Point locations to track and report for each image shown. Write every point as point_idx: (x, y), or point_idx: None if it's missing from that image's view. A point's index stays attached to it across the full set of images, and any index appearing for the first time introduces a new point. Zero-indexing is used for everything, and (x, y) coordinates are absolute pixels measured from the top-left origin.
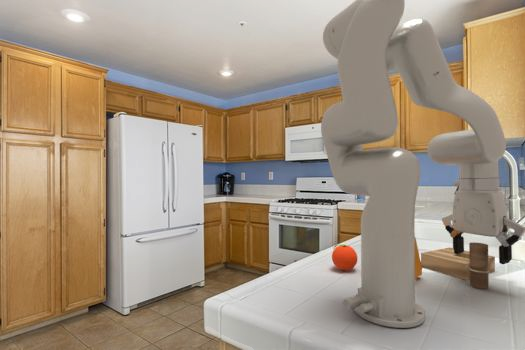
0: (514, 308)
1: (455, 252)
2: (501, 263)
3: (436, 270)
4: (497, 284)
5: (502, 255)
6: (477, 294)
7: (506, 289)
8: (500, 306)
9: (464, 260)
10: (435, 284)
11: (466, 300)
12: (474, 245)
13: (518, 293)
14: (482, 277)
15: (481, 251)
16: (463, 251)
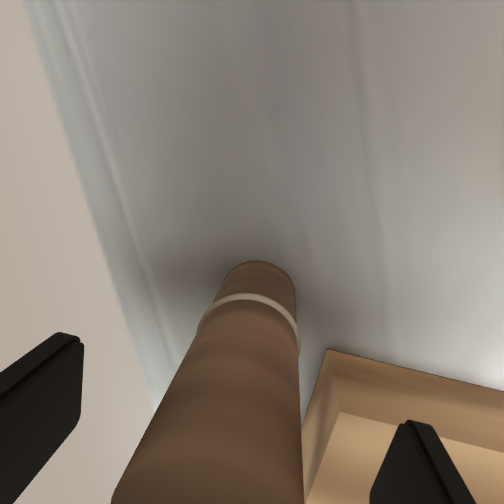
0: (77, 114)
1: (421, 426)
2: (69, 335)
3: (479, 390)
4: None
5: (1, 373)
6: (231, 176)
7: (173, 338)
8: (117, 88)
9: (363, 479)
10: (433, 162)
11: (240, 30)
12: (222, 457)
13: (131, 321)
14: (224, 289)
15: (173, 404)
16: (372, 497)
